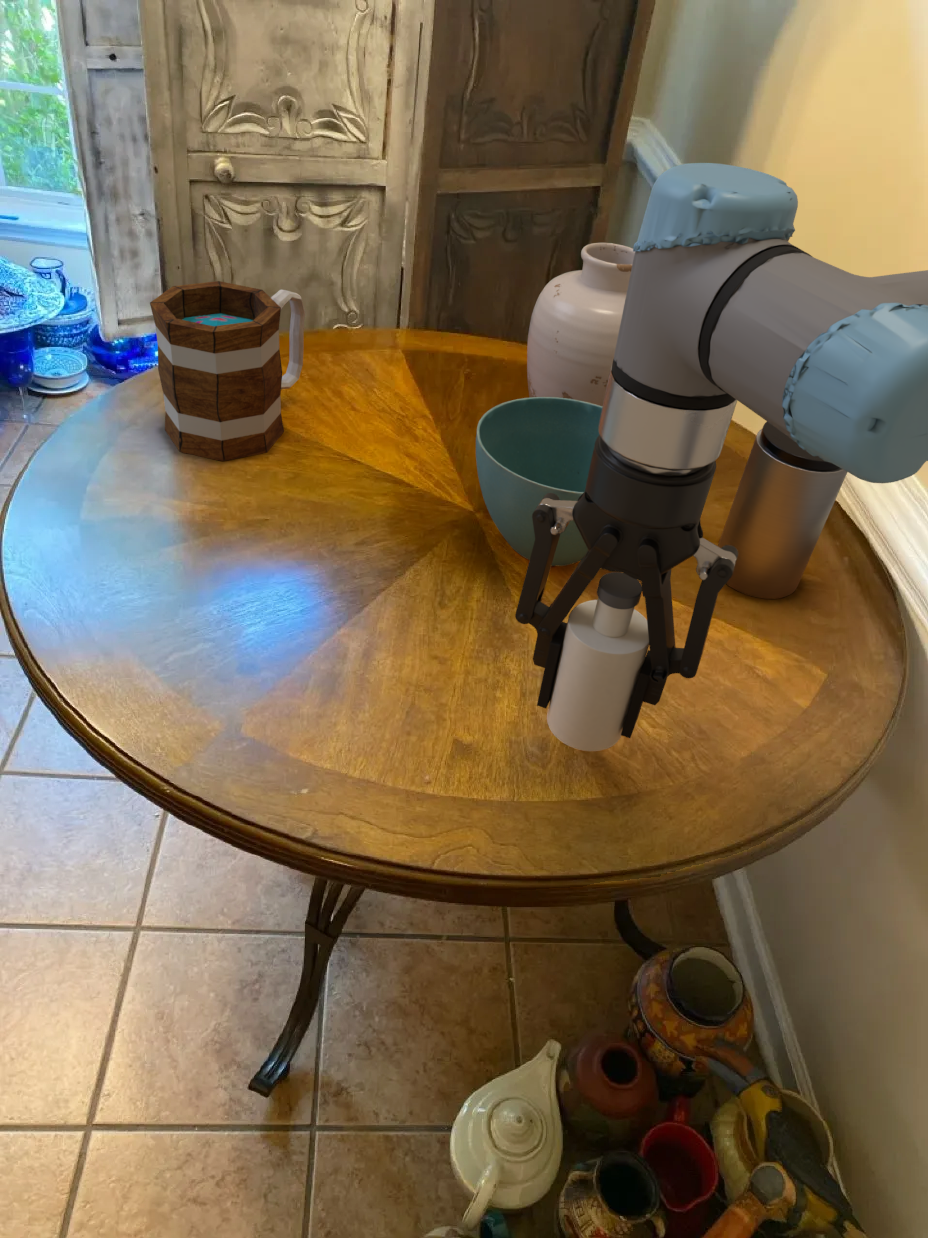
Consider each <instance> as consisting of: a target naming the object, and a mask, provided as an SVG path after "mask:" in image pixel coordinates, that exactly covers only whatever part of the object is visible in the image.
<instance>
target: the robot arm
mask: <svg viewBox="0 0 928 1238" xmlns="http://www.w3.org/2000/svg"><path fill="white" fill-rule="evenodd" d="M798 206H799V199H798V195H797V193H796V192H795V190H794V189H793V188H792V187H790V186H788V184H787V182H785V181H784V180H782V179H780V178H778V177H776V176H774V175H772V174H769V173H766V172H763V171H759V170H755V169H752V168H749V167H748V168H747V167H742V166H739V165H738V166H737V165H731V164H724V163H715V162H692V163H691V162H690V163H681V164H678V165H675V166H672V167H670V168H668V169H666V170H665V171H663V172H662V173H661V174H659V176H658V177H657V178H656V180H655V182H654V183H653V185H652V188H651V190H650V194H649V197H648V201H647V205H646V208H645V212H644V215H643V219H642V222H641V226H640V229H639V233H638V237H637V240H636V242H634V244H633V251H634V252H635V255H634V259H633V264H632V269H631V274H630V279H629V284H628V289H627V294H626V299H625V304H624V309H623V314H622V319H621V323H620V328H619V333H618V338H617V343H616V348H615V353H614V359H613V363H612V366H611V370H610V374H609V379H608V384H607V388H606V393H605V397H604V402H603V407H602V411H601V416H600V421H599V425H598V429H599V434H600V435H599V436H598V437H597V439H596V441H595V445H594V450H593V455H592V459H591V464H590V469H589V473H588V478H587V483H586V487H585V491H584V493H583V494H582V495H581V496H580V497H579V498H578V501H566V500H560V499H559V497H558V496H557V495H556V494H554V493H547V494H546V495H545V496H544V497H543V499H542V500H541V501H540V503H539V504H538V506H537V508H536V509H535V511H534V512H533V514H532V520H533V527H534V534H535V541H534V545H533V549H532V553H531V557H530V560H529V561H528V565H527V569H526V573H525V576H524V580H523V583H522V588H521V592H520V595H519V599H518V603H517V606H516V611H515V614H514V617H515V620H516V621H517V622H518V623H519V624H522V625H528V624H529V625H531V626H532V627H533V628H534V629H535V631H536V640H535V644H534V650H533V655H532V661H533V665H534V666H537V667H541V668H543V673H542V679H541V684H540V688H539V694H538V698H537V703H536V706H537V707H540V708H543V709H547V708H548V707H549V703H550V699H551V694H552V690H553V685H554V681H555V676H556V672H557V667H558V663H559V658H560V654H561V649H562V645H563V640H564V636H565V631H566V627H567V622H565V621H564V620H565V619H566V617H567V616H568V615H569V614H570V613H571V611H572V610H573V608H574V606H575V605H576V603H577V601H578V600H579V599H580V598H581V596H582V594H583V593H584V592H585V591H586V589H587V587H588V586H589V584H590V583H591V582H592V581H593V580H594V579H595V577H596V575H597V574H598V572H600V570H605V571H609V572H620V573H625V574H626V575H628V576H630V577H632V578H633V579H637V580H638V581H639V582H640V584H641V586H642V593H641V595H642V597H644V602H645V612H646V613H645V614H646V620H647V625H648V635H649V649H648V651H647V654H646V657H645V660H644V663H643V665H642V668H641V670H640V673H639V676H638V679H637V683H636V686H635V689H634V693H633V696H632V699H631V703H630V706H629V709H628V713H627V716H626V719H625V722H624V726H623V729H622V732H621V735H622V736H621V737H625V738H628V739H631V738H632V735H633V733H634V729H635V727H636V725H637V721H638V718H639V716H640V712H641V709H642V707H643V703H646V704H649V705H652V706H656V705H658V703H659V702H661V701H660V700H661V697H662V695H663V692H664V689H665V685H666V683H667V679H668V677H669V676H670V675H674V674H679V675H680V676H681V677H683V678H685V679H694V678H695V677H696V675H697V673H698V669H699V666H700V663H701V660H702V657H703V653H704V650H705V646H706V642H707V638H708V635H709V631H710V627H711V622H712V619H713V615H714V612H715V609H716V604H717V600H718V596H719V593H720V591H722V589H723V588H724V587H725V585H727V584H726V583H727V582H728V580H729V579H730V578H731V576H732V574H733V571H734V567H735V564H736V561H737V557H738V550H737V549H736V548H735V547H734V546H731V545H725V546H723V547H722V548H720V547H718V545H716V544H715V543H713V542H711V541H709V540H707V539H706V538H704V531H703V527H702V525H701V518H702V515H703V511H704V508H705V505H706V501H707V498H708V496H709V493H710V489H711V486H712V483H713V480H714V476H715V472H716V469H717V462H716V460H717V459H718V458H719V457H720V456H721V454H722V453H721V452H722V450H723V447H724V444H725V440H726V438H727V434H728V432H729V428H730V425H731V423H732V419H733V415H734V413H735V409H736V406H737V403H738V402H739V403H741V404H742V405H743V406H744V407H746V408H747V409H748V410H750V411H751V412H753V413H754V414H756V415H757V416H759V417H760V418H761V419H763V420H764V421H766V422H769V423H770V424H771V425H773V426H774V427H776V428H777V429H778V430H780V431H781V432H783V433H784V434H785V435H787V436H788V437H790V438H791V439H792V440H794V441H795V442H797V444H798V445H799V447H801V448H802V449H803V450H806V451H807V452H808V453H809V454H811V455H812V456H819V457H820V458H821V459H822V460H824V461H826V462H830V463H833V464H834V465H836V466H838V467H840V468H842V469H843V470H845V471H847V473H849V474H851V475H852V476H854V477H855V478H856V479H859V480H862V481H865V482H867V483H872V484H891V483H896V482H899V481H902V480H905V479H908V478H911V477H912V476H914V475H916V473H918V472H919V471H920V470H921V468H922V467H923V466H924V464H925V463H927V462H928V269H927V270H918V271H908V272H902V273H901V272H900V273H893V274H892V273H891V274H886V275H878V276H863V275H859V274H854V273H851V272H849V271H846V270H844V269H842V268H839V267H837V266H835V265H832V264H831V263H828V262H826V261H823V260H820V259H818V258H816V257H814V256H813V255H811V254H810V253H808V252H806V251H804V250H803V249H801V248H799V247H798V246H796V245H794V244H792V243H790V241H789V240H790V239H791V237H793V234H794V233H795V232H796V229H795V226H794V222H795V219H796V215H797V211H798ZM573 520H574V522H575V524H576V526H577V528H578V530H579V532H580V534H581V536H582V538H583V540H584V542H585V544H586V546H587V548H588V551H587V552H586V554H585V555H584V557H583V558H582V560H581V561H579V562H578V564H577V566H576V567H575V569H574V570H573V571H572V573H571V574H570V576H569V578H568V579H567V580H566V582H565V583H564V585H563V586H562V588H561V590H560V591H559V593H558V594H557V595H556V597H555V598H554V600H553V601H552V603H550V605H547V604H545V603H544V602H542V601H543V597H544V594H545V590H546V586H547V583H548V580H549V576H550V573H551V569H552V566H551V565H552V562H553V558H554V555H555V551H556V548H557V544H558V541H559V537H560V534H561V533H563V532H564V531H565V529H566V527H567V526H568V524H569V522H570V521H573ZM691 557H694V558H695V560H696V563H697V564H696V568H695V571H696V574H697V575H698V578H699V579H700V580H701V583H700V585H699V588H698V591H697V594H696V597H695V601H694V604H693V605H694V606H693V609H692V613H691V618H690V623H689V627H688V629H687V630H688V631H687V635H686V638H685V643H684V647H676V636H675V622H674V609H673V596H672V583H671V579H672V578H671V577H672V569H674V568H675V567H677V566H678V565H680V564H681V563H683V562H685V561H686V560H689V559H690V558H691Z"/></svg>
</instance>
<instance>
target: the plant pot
mask: <svg viewBox="0 0 928 1238" xmlns="http://www.w3.org/2000/svg"><path fill="white" fill-rule="evenodd" d="M601 411H602V406H599V405H596V404H593V403H589V402H584V401H579V400H573V399H567V398H558V397H530V398H529V397H524V398H523V397H522V398H517V399H513V400H508V401H504V402H502V403H499V404H497V405H495V406H493V407H491V408H490V409H489V410H487V411H486V412H485V413H484V414H483V415H482V416H481V418H480V419H479V421H478V423H477V425H476V426H477V427H476V434H475V435H476V436H475V460H476V461H475V462H476V470H477V477H478V482H479V487H480V491H481V495H482V497H483V502H484V504H485V506H486V509H487V511H488V514H489V516H490V518H491V519H492V521H493V524H494V525H495V527H496V528H497V530H498V531H499V533H500V534H501V536H502V538H504V540H505V541H506V542H507V544H508V545H509V546H510V547H511V548H512V549H513V550H514V551H515V552H516V553H517V554H519V555H520V556H521V557H522V558H525V559H526V560H529V561H530V557H531V553H532V549H533V545H534V541H535V534H534V527H533V520H532V514H533V512H534V511H535V509H536V508H537V506H538V504H539V503H540V501H541V500H542V499H543V497H544V496H545V495H546V494H547V493H554V494H556V495H557V496H558V497H559V499H560V500H566V501H578V498H579V497H580V496H581V495H582V494H583V493H584V491H585V487H586V483H587V478H588V473H589V469H590V464H591V459H592V455H593V450H594V445H595V441H596V439H597V437H598V436H599V435H600V434H599V429H598V425H599V421H600V416H601ZM587 551H588V548H587V546H586V544H585V542H584V540H583V538H582V536H581V534H580V532H579V530H578V528H577V526H576V524H575V522H574V520H573V521H570V522H569V524H568V526H567V527H566V529H565V531H564V532H563V533H561V534H560V537H559V541H558V544H557V548H556V551H555V555H554V558H553V562H552V565H551V567H565V566H571V565H573V564H577V563H580V561H581V560H582V558H583V557H584V555H585V554H586V552H587Z"/></svg>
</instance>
